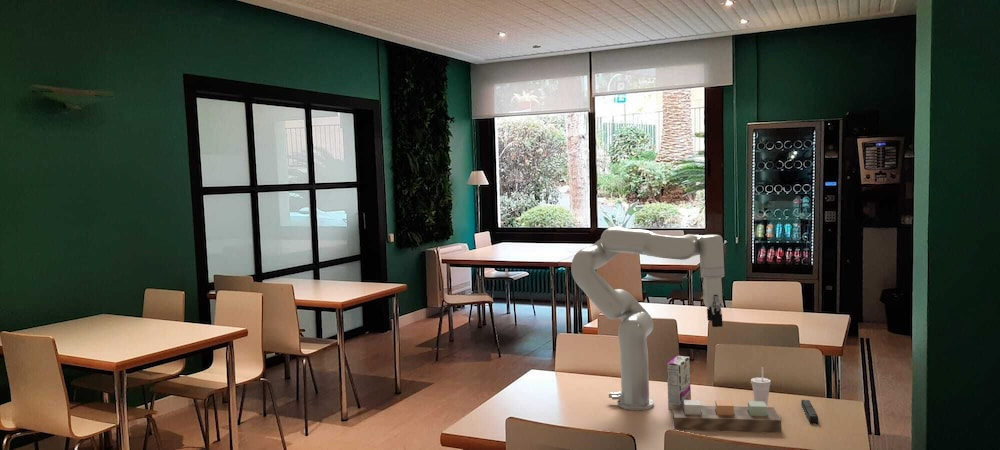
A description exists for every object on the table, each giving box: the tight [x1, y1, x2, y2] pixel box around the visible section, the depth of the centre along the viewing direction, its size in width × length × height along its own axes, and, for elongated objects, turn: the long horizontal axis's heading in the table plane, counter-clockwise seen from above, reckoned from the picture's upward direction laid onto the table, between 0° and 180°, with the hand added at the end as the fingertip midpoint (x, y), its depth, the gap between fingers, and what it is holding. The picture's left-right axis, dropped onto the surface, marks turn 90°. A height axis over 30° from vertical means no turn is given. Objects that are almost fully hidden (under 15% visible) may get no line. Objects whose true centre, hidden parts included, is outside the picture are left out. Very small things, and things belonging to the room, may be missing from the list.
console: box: [671, 405, 783, 434], centre depth 224 cm, size 32×12×4 cm, turn 79°
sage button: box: [747, 400, 768, 416], centre depth 222 cm, size 5×5×4 cm
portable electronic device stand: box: [800, 399, 819, 425], centre depth 230 cm, size 18×3×3 cm, turn 165°
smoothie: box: [750, 367, 772, 407], centre depth 238 cm, size 6×6×14 cm
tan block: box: [715, 399, 735, 416], centre depth 224 cm, size 5×5×4 cm
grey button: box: [684, 399, 702, 415], centre depth 226 cm, size 5×5×4 cm
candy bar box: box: [666, 355, 692, 411], centre depth 243 cm, size 11×5×16 cm, turn 148°
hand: (714, 323), depth 231 cm, fingers open, 9 cm apart
